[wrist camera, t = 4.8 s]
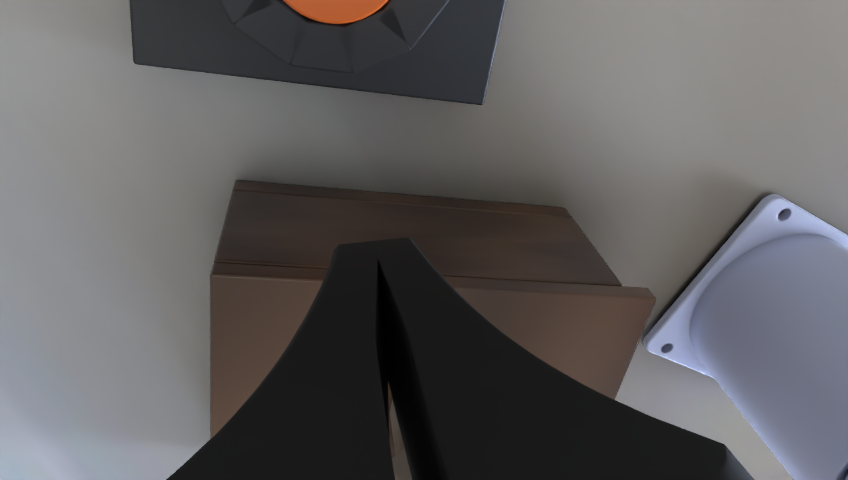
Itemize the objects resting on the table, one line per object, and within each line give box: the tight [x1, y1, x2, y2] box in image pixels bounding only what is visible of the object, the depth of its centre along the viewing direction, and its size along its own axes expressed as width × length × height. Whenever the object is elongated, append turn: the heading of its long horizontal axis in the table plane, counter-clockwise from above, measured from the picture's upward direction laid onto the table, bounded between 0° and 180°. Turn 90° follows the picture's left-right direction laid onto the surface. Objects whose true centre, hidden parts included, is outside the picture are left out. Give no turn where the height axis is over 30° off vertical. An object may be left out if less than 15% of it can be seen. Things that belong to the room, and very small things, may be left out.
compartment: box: [214, 180, 622, 286], centre depth 22 cm, size 12×13×5 cm
